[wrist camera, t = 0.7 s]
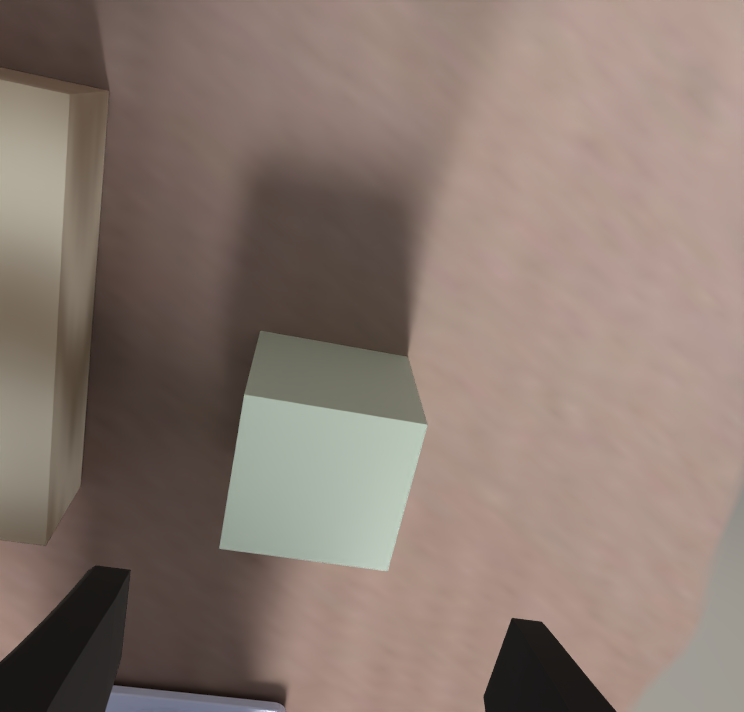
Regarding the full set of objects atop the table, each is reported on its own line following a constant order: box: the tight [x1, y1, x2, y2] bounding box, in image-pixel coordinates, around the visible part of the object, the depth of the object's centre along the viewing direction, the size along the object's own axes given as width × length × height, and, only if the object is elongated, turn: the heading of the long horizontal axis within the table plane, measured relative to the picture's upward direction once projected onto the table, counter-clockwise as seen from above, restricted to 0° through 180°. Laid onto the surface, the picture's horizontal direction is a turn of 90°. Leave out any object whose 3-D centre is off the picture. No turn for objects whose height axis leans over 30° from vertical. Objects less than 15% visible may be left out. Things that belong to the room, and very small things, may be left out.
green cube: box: [219, 331, 428, 571], centre depth 20 cm, size 4×4×4 cm
